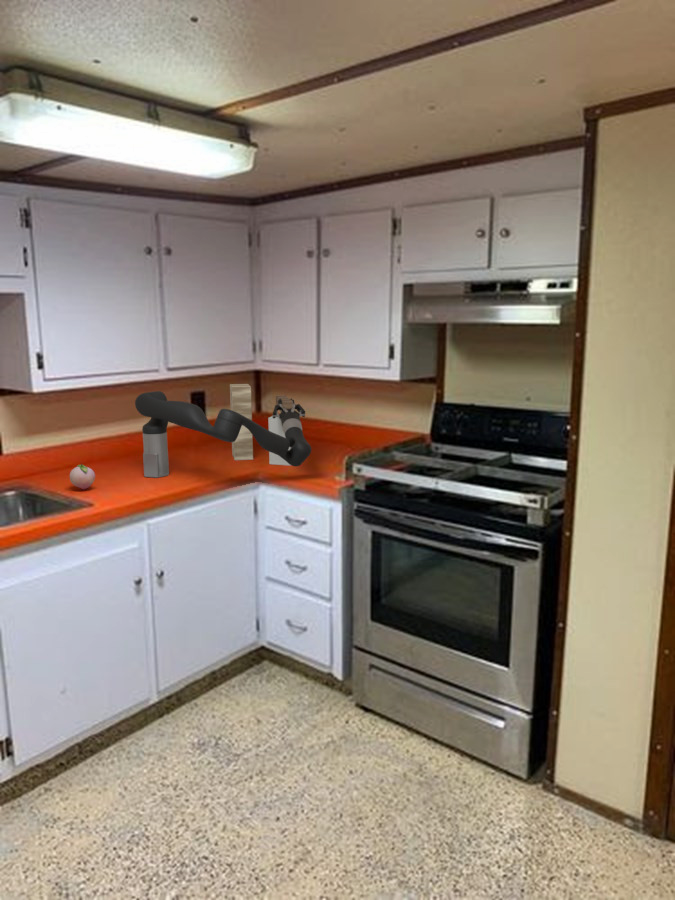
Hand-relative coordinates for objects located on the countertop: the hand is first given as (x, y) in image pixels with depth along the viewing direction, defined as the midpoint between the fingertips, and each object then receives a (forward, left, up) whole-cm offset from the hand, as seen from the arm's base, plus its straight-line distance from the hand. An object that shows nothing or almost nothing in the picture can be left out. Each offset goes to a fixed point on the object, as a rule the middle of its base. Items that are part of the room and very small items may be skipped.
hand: (285, 400), depth 286 cm
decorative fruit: (-59, +57, -28) cm, 87 cm away
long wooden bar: (+4, +2, -4) cm, 5 cm away
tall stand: (+9, +24, -27) cm, 38 cm away
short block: (+4, +2, -27) cm, 28 cm away
